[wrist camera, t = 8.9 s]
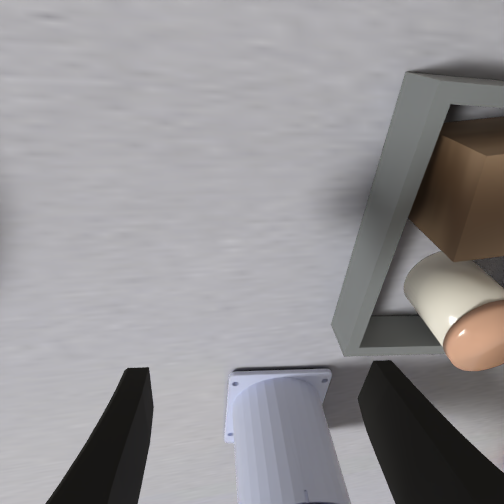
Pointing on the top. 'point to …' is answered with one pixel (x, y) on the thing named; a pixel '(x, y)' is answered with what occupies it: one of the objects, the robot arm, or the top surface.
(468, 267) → the jar
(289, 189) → the top surface
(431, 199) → the block
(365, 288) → the tote
